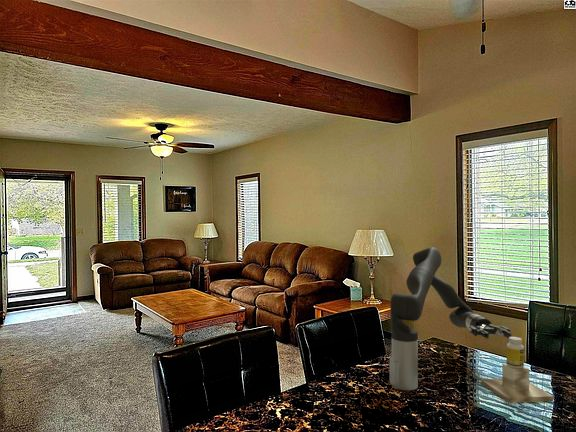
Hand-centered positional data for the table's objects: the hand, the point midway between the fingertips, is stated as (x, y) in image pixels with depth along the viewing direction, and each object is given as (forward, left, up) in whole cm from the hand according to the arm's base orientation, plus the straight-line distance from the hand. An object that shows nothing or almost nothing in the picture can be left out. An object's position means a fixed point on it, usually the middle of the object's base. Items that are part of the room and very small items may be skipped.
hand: (499, 335), depth 158 cm
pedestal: (-1, -11, -16) cm, 20 cm away
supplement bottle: (-1, -11, -8) cm, 13 cm away
